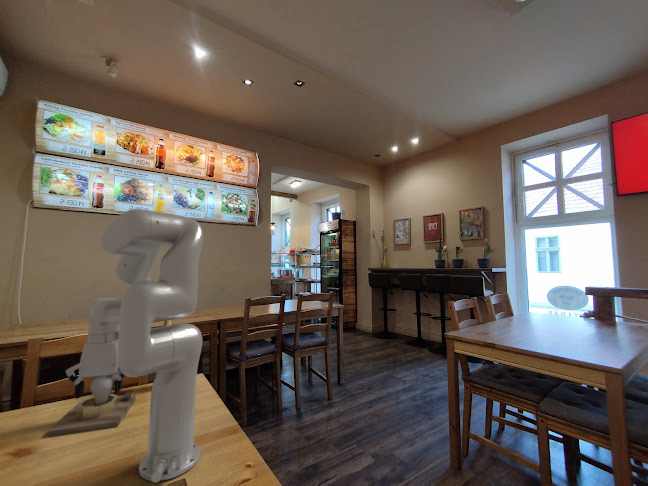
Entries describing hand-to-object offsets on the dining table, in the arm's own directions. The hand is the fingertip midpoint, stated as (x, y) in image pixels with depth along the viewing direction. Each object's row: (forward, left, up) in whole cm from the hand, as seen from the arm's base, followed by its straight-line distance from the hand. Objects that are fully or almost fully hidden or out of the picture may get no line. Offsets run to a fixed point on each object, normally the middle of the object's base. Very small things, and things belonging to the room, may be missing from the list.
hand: (98, 394), depth 89 cm
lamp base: (0, 0, -6) cm, 6 cm away
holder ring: (0, 0, -5) cm, 5 cm away
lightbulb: (0, -1, -5) cm, 5 cm away
